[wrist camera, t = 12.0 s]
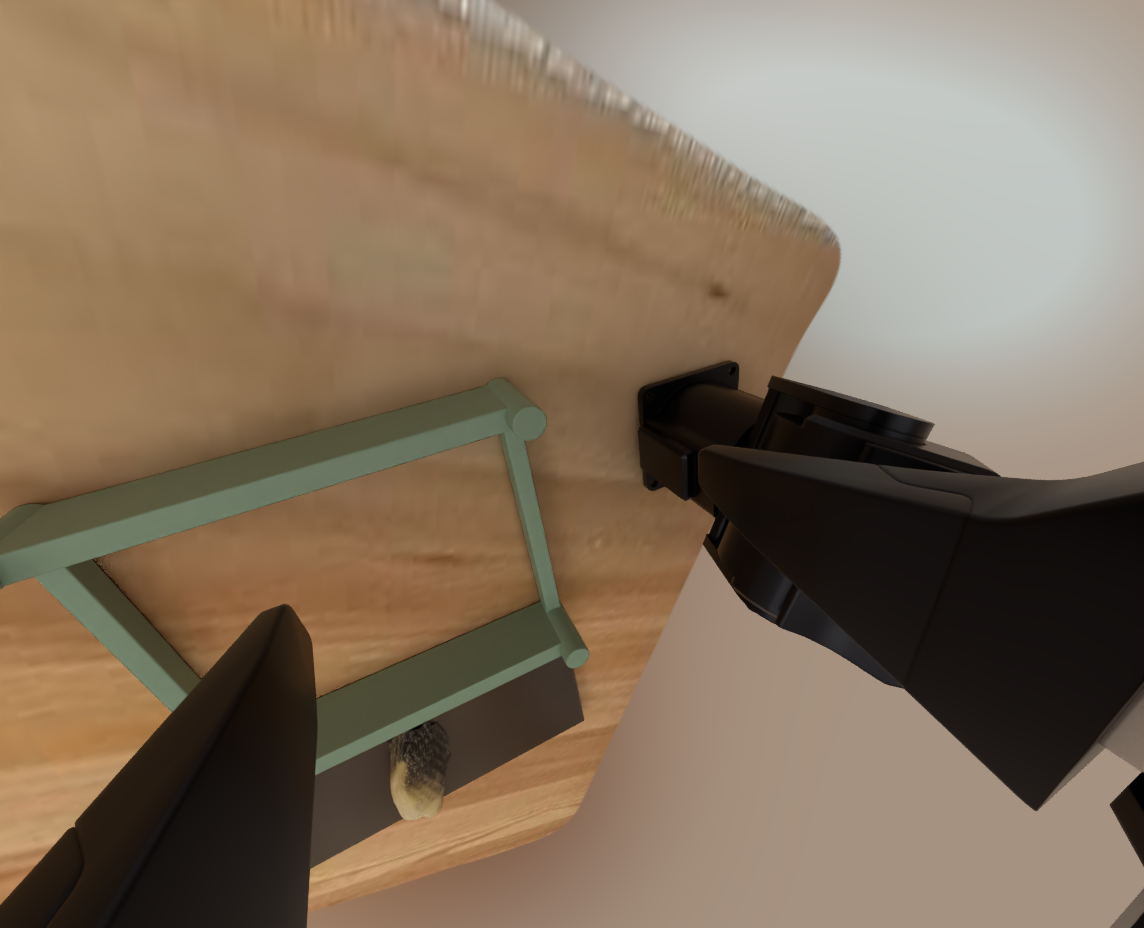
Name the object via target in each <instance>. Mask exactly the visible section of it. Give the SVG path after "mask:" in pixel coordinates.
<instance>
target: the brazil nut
mask: <svg viewBox="0 0 1144 928" xmlns="http://www.w3.org/2000/svg"><path fill="white" fill-rule="evenodd" d="M448 741H449V738H447V733H445V732H444V730H443V728H442V727H440V726H439V724H438V722H437V723H436V724H434V725H433V726H431V723H429V722H426V723H424V724H423V725H422V727H421V728H420V729H417V730H407V731H405V732H403V733H401V734H399V735H397V736H395V737H394V738H393V740H391V741H390V742H389V743H388V747H389V748H390V752H389V758H390V770H389V773H390V786H391V794H392V797H393V801H394V803H395V805H396V807H397V809H398V811H399V813H400V815H401V816H402V818H404V819H405V820H410V821H411V820H417V819H419V818H420V817H427V818H432V817H433V816H435V815H436V814H437V813H438V812H439V811H440V809H441V807H442V804H443V796H444V788H445V776H446V769H447V767H446V764H447V763H448V762H449V759H450V756H451V752H449V743H448Z"/></svg>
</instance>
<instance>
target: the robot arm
mask: <svg viewBox="0 0 1144 928" xmlns="http://www.w3.org/2000/svg"><path fill="white" fill-rule="evenodd" d="M730 368H731V370H730V372H729V369H730ZM738 381H739V365H738V364H737V363H736V362H733V361H726V362H722V363H719V364H716V365H713V366H709V367H706V368H703V369H699V370H696V371H693V372H690V373H686V374H683V375H680V376H676V377H673V378H670V379H667V380H663V381H660V382H657V383H653V384H650V385H647V386H644V387H642V388H641V390H640V391H639V393H638V406H639V421H640V427H639V430H638V435H639V450H640V464H641V468H642V469H643V480H644V486H645V487H646V488H648V489H649V490H651V491H654V490H657V489H660V488H662V487H667V488H668V489H669V490H671V491H672V492H673V493H675V494H676V495H677V496H678V497H680V498H681V499H683V500H685V501H687V500H690V499H691V500H692V501H694V502H695V503H696V504H698V505H699V506H700V507H702V508H703V509H704V510H706V511H707V512H708V513H710V514H711V515H713V516H714V517H715V521H714V523H713V526H712V528H711V530H710V533H709V534H707V535H706V537H705V540H704V542H703V545H704V547H705V548H706V549H707V551H708V552H709V554H710V556H711V557H712V558H713V560H714V561H715V563H716V564H717V566H718V567H719V569H720V570H721V572H722V573H723V575H724V576H725V578H726V579H727V581H728V582H729V583H730V585H731V586H732V588H733V589H734V591H735V592H736V594H737V595H738V596H739V598H740V599H741V600H742V601H743V602H744V603H745V604H746V606H747V607H748V608H749V609H750V610H751V611H753V612H755V613H757V614H759V615H760V616H761V617H763V618H765V619H767V620H768V621H770V622H772V623H774V624H776V625H777V626H779V627H780V628H782V629H785V630H788V631H790V632H793V633H796V634H799V635H801V636H804V637H806V638H808V639H811V640H812V641H815V642H817V643H818V644H820V645H822V646H824V647H827V648H828V649H830V650H832V651H834V652H835V653H837V654H839V655H841V656H842V657H844V658H846V659H847V660H848V661H850V662H851V663H853V664H855V665H856V666H858V667H859V668H861V669H863V670H864V671H865V672H867V673H868V674H870V675H872V676H873V677H875V678H876V679H878V680H879V681H881V682H883V683H885V684H887V685H891V686H895V687H899V688H903V689H905V690H906V691H907V692H908V693H909V694H910V695H911V696H912V697H913V698H914V699H915V700H916V701H918V702H919V703H920V704H921V705H922V706H923V707H924V708H925V709H926V710H927V711H928V712H929V713H930V714H931V715H932V716H933V717H934V718H935V719H937V720H938V721H939V722H940V723H941V724H942V725H943V726H944V727H945V728H946V729H947V730H948V731H949V732H950V733H951V734H952V735H953V736H954V737H955V738H957V739H958V740H959V741H960V742H961V743H962V744H963V745H964V746H965V747H966V748H967V749H968V750H969V751H970V752H971V753H972V754H973V755H974V756H976V757H977V758H978V759H979V760H980V761H981V762H982V763H983V764H984V765H985V766H986V767H987V768H988V769H989V770H990V771H991V772H992V773H993V774H994V775H996V776H997V777H998V778H999V779H1000V780H1001V781H1002V782H1003V783H1004V784H1005V785H1006V786H1007V787H1008V788H1009V789H1010V790H1012V791H1013V793H1015V794H1016V795H1017V796H1018V797H1019V798H1020V799H1021V800H1022V801H1024V803H1026V804H1027V805H1028V806H1029V807H1031V808H1032V809H1033V810H1035V811H1038V810H1039V809H1040V808H1041V807H1042V806H1043V805H1044V804H1045V803H1046V802H1047V801H1049V800H1050V799H1051V798H1052V797H1053V796H1054V795H1055V794H1056V793H1057V792H1058V791H1059V790H1060V789H1062V788H1063V787H1064V786H1065V785H1066V784H1067V783H1068V782H1069V781H1070V780H1071V779H1072V778H1073V777H1075V776H1076V775H1077V774H1078V773H1079V772H1080V771H1081V770H1082V769H1083V768H1084V767H1085V766H1086V765H1087V764H1089V763H1090V762H1091V761H1092V760H1093V759H1094V758H1095V757H1096V756H1097V755H1098V754H1099V753H1100V752H1101V751H1103V750H1104V749H1105V748H1107V749H1108V750H1110V751H1111V752H1113V753H1114V754H1116V755H1117V756H1119V757H1120V758H1122V759H1123V760H1125V761H1126V762H1128V763H1129V764H1131V765H1132V766H1134V767H1135V768H1137V769H1138V770H1140V771H1141V774H1139V775H1138V776H1137V777H1136V778H1135V780H1133V781H1132V782H1131V783H1130V785H1128V786H1127V787H1126V788H1125V789H1124V790H1123V792H1121V794H1120V795H1119V796H1118V797H1117V798H1116V799H1115V800H1114V801H1113V802H1112V803H1111V804H1110V806H1111V808H1112V810H1113V812H1114V814H1115V815H1116V817H1117V819H1118V821H1119V823H1120V825H1121V826H1122V828H1123V830H1124V832H1125V834H1126V835H1127V837H1128V839H1129V841H1130V843H1131V845H1132V846H1133V848H1134V850H1135V852H1136V854H1137V855H1138V857H1139V859H1140V861H1141V863H1142V864H1143V866H1144V462H1141V463H1138V464H1134V465H1130V466H1126V467H1123V468H1119V469H1115V470H1112V471H1108V472H1104V473H1101V474H1097V475H1093V476H1088V477H1082V478H1077V479H1067V480H1032V479H1020V478H1008V477H1001V476H1000V475H998V474H997V473H996V472H994V471H993V470H991V469H990V468H988V467H987V466H985V465H984V464H983V463H981V462H980V461H978V460H977V459H975V458H974V457H972V456H971V455H968V454H966V453H964V452H960V451H957V450H954V449H951V448H948V447H945V446H941V445H938V444H935V443H932V442H929V441H926V439H927V437H928V436H929V434H930V432H931V430H932V428H933V426H934V425H935V424H934V423H931V422H928V421H925V420H923V419H919V418H917V417H914V416H911V415H908V414H905V413H902V412H900V411H897V410H894V409H891V408H888V407H885V406H882V405H879V404H875V403H872V402H868V401H865V400H861V399H858V398H854V397H851V396H848V395H844V394H840V393H837V392H834V391H830V390H826V389H822V388H818V387H814V386H811V385H807V384H803V383H799V382H795V381H791V380H788V379H784V378H780V377H776V376H772V377H771V379H770V381H769V384H768V386H767V387H768V388H769V390H768V392H767V395H766V397H765V399H763V398H760V397H757V396H755V395H752V394H749V393H747V392H744V391H741V390H738ZM649 392H650V396H649V397H648V398H647V399H646V395H647V394H648V393H649ZM653 480H654V482H653V483H652V484H651V482H652V481H653ZM317 730H318V719H317V702H316V688H315V674H314V661H313V647H312V641H311V638H310V635H309V633H308V631H307V630H306V628H305V627H304V625H303V624H302V622H301V621H300V619H299V618H298V616H297V615H296V613H295V611H294V610H293V609H292V607H290V606H289V605H287V604H282V605H280V606H277V607H274V608H271V609H269V610H266V611H263V612H262V613H260V614H259V615H258V616H257V617H256V618H255V620H254V621H253V622H252V623H251V624H250V625H249V626H248V628H247V629H246V630H245V631H244V632H243V633H242V634H241V635H240V637H239V638H238V639H237V640H236V641H235V642H234V643H233V644H232V646H231V647H230V648H229V649H228V650H227V651H226V652H225V653H224V655H223V656H222V657H221V658H220V659H219V660H218V661H217V662H216V664H215V665H214V666H213V667H212V668H211V669H210V670H209V671H208V673H207V674H206V675H205V676H204V677H203V678H202V679H201V680H200V682H199V683H198V684H197V685H196V686H195V687H194V688H193V690H192V691H191V692H190V693H189V694H188V695H187V696H186V697H185V699H184V700H183V701H182V702H181V703H180V704H179V705H178V706H177V708H176V709H175V710H174V711H173V712H172V713H171V714H170V715H169V717H168V718H167V719H166V720H165V721H164V722H163V723H162V724H161V726H160V727H159V728H158V729H157V730H156V731H155V732H154V733H153V735H152V736H151V737H150V738H149V739H148V740H147V741H146V742H145V744H144V745H143V746H142V747H141V748H140V749H139V750H138V751H137V753H136V754H135V755H134V756H133V757H132V758H131V759H130V760H129V762H128V763H127V764H126V765H125V766H124V767H123V768H122V769H121V771H120V772H119V773H118V774H117V775H116V776H115V777H114V779H113V780H112V781H111V782H110V783H109V784H108V785H107V786H106V788H105V789H104V790H103V791H102V792H101V793H100V794H99V795H98V797H97V798H96V799H95V800H94V801H93V802H92V803H91V804H90V806H89V807H88V808H87V809H86V810H85V811H84V812H83V813H82V815H81V816H80V817H79V818H78V819H77V820H76V822H75V827H72V828H70V829H68V830H67V831H66V832H65V833H64V835H63V836H62V837H61V838H60V839H59V840H58V841H57V843H56V844H55V845H54V846H53V847H52V848H51V849H50V851H49V852H48V853H47V854H46V855H45V856H44V857H43V858H42V860H41V861H40V862H39V863H38V864H37V865H36V866H35V867H34V868H33V870H32V871H31V872H30V873H29V874H28V875H27V876H26V877H25V878H24V879H23V881H22V882H21V883H20V884H19V885H18V886H17V887H16V888H15V889H14V890H13V892H12V893H11V894H10V895H9V896H8V897H7V898H6V899H5V900H4V901H3V903H2V904H1V905H0V928H307V911H308V894H309V876H310V858H311V840H312V823H313V805H314V787H315V770H316V752H317ZM1110 928H1144V889H1143V890H1142V891H1141V892H1140V893H1139V895H1138V896H1137V897H1136V898H1135V899H1134V900H1133V902H1132V903H1131V904H1130V905H1129V906H1128V907H1127V909H1126V910H1125V911H1124V912H1123V913H1122V914H1121V915H1120V917H1119V918H1118V919H1117V920H1116V921H1115V922H1114V924H1113V925H1112V926H1111V927H1110Z"/></svg>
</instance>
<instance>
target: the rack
mask: <svg viewBox="0 0 1144 928" xmlns="http://www.w3.org/2000/svg"><path fill="white" fill-rule="evenodd" d="M546 426H547V418H546V415H545V413H544V412H543V410H541V409H540V408H539V407H538V406H537V405H536V404H535V403H533V402H532V401H531V400H530V399H529V398H528V397H526V396H525V395H524V394H523V393H522V392H521V391H520V390H518V389H517V388H516V387H515V386H514V385H513V384H511V383H510V382H509V381H508V380H506V379H504V378H496V379H493V380H491V381H490V382H489V383H488V384H487V386H483V387H480V388H476V389H472V390H468V391H465V392H461V393H457V394H454V395H450V396H446V397H443V398H439V399H435V400H431V401H428V402H424V403H420V404H417V405H413V406H409V407H406V408H402V409H398V410H394V411H391V412H387V413H383V414H380V415H376V416H372V417H369V418H365V419H361V420H357V421H354V422H350V423H346V424H343V425H339V426H335V427H331V428H328V429H324V430H320V431H317V432H313V433H309V434H306V435H302V436H298V437H294V438H291V439H287V440H283V441H280V442H276V443H272V444H269V445H265V446H261V447H257V448H254V449H250V450H246V451H243V452H239V453H235V454H232V455H228V456H224V457H220V458H217V459H213V460H209V461H206V462H202V463H198V464H195V465H191V466H187V467H183V468H180V469H176V470H172V471H169V472H165V473H161V474H158V475H154V476H150V477H146V478H143V479H139V480H135V481H132V482H128V483H124V484H121V485H117V486H113V487H109V488H106V489H102V490H98V491H95V492H91V493H87V494H84V495H80V496H76V497H72V498H69V499H65V500H61V501H58V502H54V503H50V504H47V505H42V504H26V505H21V506H18V507H16V508H14V509H12V510H11V511H10V512H8V513H7V514H6V515H4V516H3V517H2V518H0V590H1V589H2V588H3V587H4V586H6V585H9V584H13V583H16V582H19V581H22V580H26V579H29V578H32V577H35V578H36V579H37V580H38V581H39V582H40V583H41V584H42V585H43V586H44V587H45V588H46V589H47V590H48V591H49V592H50V593H51V594H52V595H53V596H54V597H55V598H56V599H57V600H58V601H59V602H60V603H61V604H62V605H63V606H64V607H65V608H66V609H67V610H68V611H69V612H70V613H71V614H72V615H73V616H74V617H75V618H76V619H77V620H78V621H79V622H81V623H82V624H83V625H84V626H85V627H86V628H87V629H88V630H89V631H90V632H91V633H92V634H93V635H94V636H95V637H96V638H97V639H98V640H99V641H100V642H101V643H102V644H103V645H104V646H105V647H106V648H107V649H108V650H109V651H110V652H111V653H112V654H113V655H114V656H115V657H116V658H117V659H118V660H119V661H120V662H121V663H122V664H123V665H124V666H125V667H126V668H127V669H128V670H129V671H130V672H131V673H132V674H133V675H134V676H135V677H136V678H137V679H139V680H140V681H141V682H142V683H143V684H144V685H145V686H146V687H147V688H148V689H149V690H150V691H151V692H152V693H153V694H154V695H155V696H156V697H157V698H158V699H159V700H160V701H161V702H162V703H163V704H164V705H165V706H166V707H167V708H168V709H169V710H170V711H171V712H173V711H174V710H175V709H176V708H177V706H178V705H179V704H180V703H181V702H182V701H183V700H184V699H185V697H186V696H187V695H188V694H189V693H190V692H191V691H192V690H193V688H194V687H195V686H196V685H197V684H198V683H199V682H200V680H201V679H200V678H199V677H198V676H197V675H196V674H195V673H194V672H193V671H192V670H191V668H190V667H189V666H188V665H187V664H186V663H185V662H184V661H183V660H182V658H181V657H180V656H179V655H178V654H177V653H176V652H175V651H174V650H173V648H172V647H171V646H170V645H169V644H168V643H167V642H166V641H165V640H164V639H163V637H162V636H161V635H160V634H159V633H158V632H157V631H156V630H155V629H154V627H153V626H152V625H151V624H150V623H149V622H148V621H147V620H146V619H145V618H144V616H143V615H142V614H141V613H140V612H139V611H138V610H137V609H136V608H135V606H134V605H133V604H132V603H131V602H130V601H129V600H128V599H127V598H126V596H125V595H124V594H123V593H122V592H121V591H120V590H119V589H118V588H117V587H116V585H115V584H114V583H113V582H112V581H111V580H110V579H109V578H108V577H107V575H106V574H105V573H104V572H103V571H102V570H101V569H100V568H99V567H98V566H97V564H96V563H95V562H94V561H93V560H92V559H94V558H97V557H101V556H104V555H107V554H110V553H114V552H117V551H120V550H123V549H127V548H130V547H133V546H136V545H140V544H143V543H146V542H149V541H153V540H156V539H159V538H163V537H166V536H169V535H172V534H176V533H179V532H182V531H185V530H189V529H192V528H195V527H198V526H202V525H205V524H208V523H211V522H215V521H218V520H221V519H224V518H228V517H231V516H234V515H237V514H241V513H244V512H247V511H250V510H254V509H257V508H260V507H264V506H267V505H270V504H273V503H277V502H280V501H283V500H286V499H290V498H293V497H296V496H299V495H303V494H306V493H309V492H312V491H316V490H319V489H322V488H325V487H329V486H332V485H335V484H338V483H342V482H345V481H348V480H351V479H355V478H358V477H361V476H364V475H368V474H371V473H374V472H378V471H381V470H384V469H387V468H391V467H394V466H397V465H400V464H404V463H407V462H410V461H413V460H417V459H420V458H423V457H426V456H430V455H433V454H436V453H439V452H443V451H446V450H449V449H452V448H456V447H459V446H462V445H465V444H469V443H472V442H475V441H479V440H482V439H485V438H488V437H492V436H495V435H498V434H500V438H501V442H502V446H503V450H504V454H505V459H506V463H507V467H508V471H509V475H510V479H511V483H512V487H513V491H514V495H515V499H516V503H517V507H518V511H519V515H520V520H521V524H522V528H523V532H524V536H525V540H526V544H527V548H528V552H529V556H530V560H531V564H532V568H533V572H534V576H535V580H536V585H537V589H538V593H539V597H540V602H537V603H535V604H533V605H530V606H528V607H526V608H524V609H521V610H519V611H517V612H514V613H512V614H510V615H508V616H505V617H503V618H501V619H498V620H496V621H494V622H492V623H489V624H487V625H485V626H482V627H480V628H478V629H476V630H473V631H471V632H469V633H466V634H464V635H462V636H460V637H457V638H455V639H453V640H450V641H448V642H446V643H444V644H441V645H439V646H437V647H434V648H432V649H430V650H428V651H425V652H423V653H421V654H418V655H416V656H414V657H412V658H409V659H407V660H405V661H402V662H400V663H398V664H396V665H393V666H391V667H389V668H386V669H384V670H382V671H380V672H377V673H375V674H373V675H370V676H368V677H366V678H364V679H361V680H359V681H357V682H354V683H352V684H350V685H348V686H345V687H343V688H341V689H338V690H336V691H334V692H332V693H329V694H327V695H325V696H322V697H320V698H318V699H316V702H317V719H318V730H317V752H316V770H315V775H317V774H319V773H321V772H323V771H325V770H327V769H329V768H331V767H333V766H335V765H337V764H339V763H341V762H344V761H346V760H348V759H350V758H352V757H354V756H356V755H358V754H360V753H362V752H364V751H366V750H368V749H370V748H372V747H374V746H377V745H379V744H381V743H383V742H385V741H387V740H389V739H391V738H393V737H395V736H397V735H399V734H401V733H403V732H405V731H407V730H410V729H412V728H414V727H416V726H418V725H420V724H422V723H424V722H426V721H428V720H430V719H432V718H434V717H436V716H438V715H440V714H443V713H445V712H447V711H449V710H451V709H453V708H455V707H457V706H459V705H461V704H463V703H465V702H467V701H469V700H471V699H473V698H476V697H478V696H480V695H482V694H484V693H486V692H488V691H490V690H492V689H494V688H496V687H498V686H500V685H502V684H504V683H506V682H509V681H511V680H513V679H515V678H517V677H519V676H521V675H523V674H525V673H527V672H529V671H531V670H533V669H535V668H537V667H539V666H542V665H544V664H546V663H548V662H550V661H552V660H554V659H556V658H558V657H560V656H562V657H563V659H564V661H565V663H566V665H567V666H568V667H569V668H578V667H580V666H582V665H583V664H584V663H586V661H587V660H588V658H589V650H588V648H587V647H586V645H585V643H584V642H583V640H582V638H581V636H580V635H579V633H578V631H577V629H576V628H575V626H574V624H573V623H572V621H571V619H570V617H569V616H568V614H567V612H566V610H565V609H564V607H563V605H562V604H561V602H560V600H559V597H558V593H557V588H556V584H555V579H554V574H553V570H552V565H551V560H550V556H549V551H548V546H547V542H546V537H545V533H544V528H543V523H542V519H541V514H540V509H539V505H538V500H537V496H536V491H535V486H534V482H533V477H532V472H531V468H530V463H529V459H528V454H527V449H526V445H525V441H530V440H534V439H537V438H538V437H540V436H541V435H542V434H543V432H544V431H545V429H546Z"/></svg>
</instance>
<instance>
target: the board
mask: <svg viewBox="0 0 1144 928" xmlns="http://www.w3.org/2000/svg"><path fill="white" fill-rule="evenodd" d="M582 721H584V716H583V711H582V707H581V702H580V697H579V693H578V688H577V684H576V679H575V674H574V670H573V668H569V667H568V666H567V665H566V663H565V661H564V659H563V657H562V656H560V657H558V658H556V659H554V660H552V661H550V662H548V663H546V664H544V665H542V666H539V667H537V668H535V669H533V670H531V671H529V672H527V673H525V674H523V675H521V676H519V677H517V678H515V679H513V680H511V681H509V682H506V683H504V684H502V685H500V686H498V687H496V688H494V689H492V690H490V691H488V692H486V693H484V694H482V695H480V696H478V697H476V698H473V699H471V700H469V701H467V702H465V703H463V704H461V705H459V706H457V707H455V708H453V709H451V710H449V711H447V712H445V713H443V714H440V715H438V716H436V717H434V718H432V719H430V720H428V721H426V722H429V723H431V726H433V725H434V724H436V723H437V722H438V724H439V726H440V727H442V728H443V730H444V732H445V733H447V738H449V741H448V743H449V752H451V756H450V759H449V762H448V763H447V764H446V767H447V769H446V776H445V788H444V796H446V795H447V794H449V793H451V792H453V791H455V790H457V789H458V788H460V787H462V786H464V785H466V784H468V783H470V782H471V781H473V780H475V779H477V778H479V777H481V776H483V775H484V774H486V773H488V772H490V771H492V770H494V769H495V768H497V767H499V766H501V765H503V764H505V763H507V762H508V761H510V760H512V759H514V758H516V757H518V756H519V755H521V754H523V753H525V752H527V751H529V750H531V749H532V748H534V747H536V746H538V745H540V744H542V743H543V742H545V741H547V740H549V739H551V738H553V737H555V736H556V735H558V734H560V733H562V732H564V731H566V730H567V729H569V728H571V727H573V726H575V725H577V724H579V723H580V722H582ZM426 722H424V723H426ZM424 723H422V724H420V725H418V726H416V727H414V728H412V729H410V730H417V729H420V728H421V727H422V725H423V724H424ZM393 738H394V737H393ZM393 738H391V739H389V740H387V741H385V742H383V743H381V744H379V745H377V746H374V747H372V748H370V749H368V750H366V751H364V752H362V753H360V754H358V755H356V756H354V757H352V758H350V759H348V760H346V761H344V762H341V763H339V764H337V765H335V766H333V767H331V768H329V769H327V770H325V771H323V772H321V773H319V774H317V775H315V787H314V805H313V823H312V840H311V858H310V869H311V868H313V867H314V866H316V865H318V864H320V863H322V862H324V861H326V860H327V859H329V858H331V857H333V856H335V855H337V854H338V853H340V852H342V851H344V850H346V849H348V848H350V847H351V846H353V845H355V844H357V843H359V842H361V841H362V840H364V839H366V838H368V837H370V836H372V835H374V834H375V833H377V832H379V831H381V830H383V829H385V828H386V827H388V826H390V825H392V824H394V823H396V822H398V821H399V820H401V819H403V818H402V816H401V815H400V813H399V811H398V809H397V807H396V805H395V803H394V801H393V797H392V794H391V786H390V773H389V770H390V758H389V752H390V748H389V747H388V743H389V742H390V741H391V740H393ZM444 796H443V797H444Z"/></svg>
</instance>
